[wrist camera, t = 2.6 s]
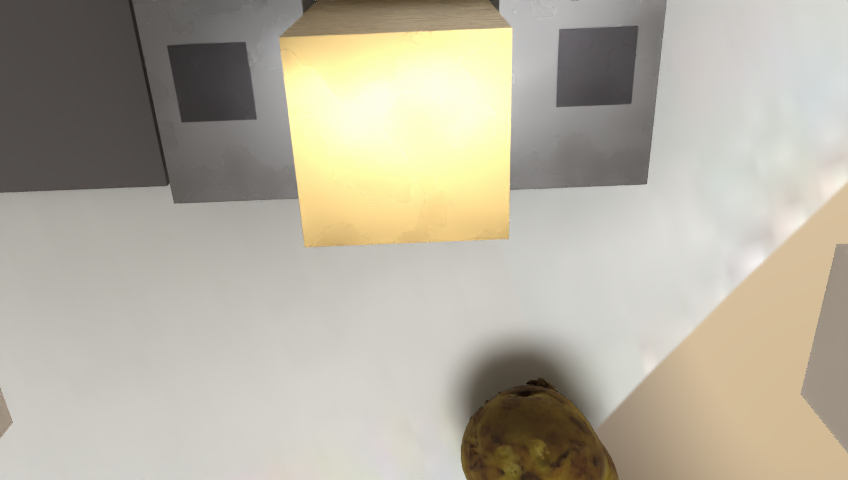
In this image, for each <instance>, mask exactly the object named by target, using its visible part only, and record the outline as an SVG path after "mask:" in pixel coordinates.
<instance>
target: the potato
mask: <svg viewBox="0 0 848 480" xmlns="http://www.w3.org/2000/svg"><path fill="white" fill-rule="evenodd" d="M526 384H528V385H526V386H520V387H514V388H513V389H509V390H506V391H504V392H499V394H498V395H497V396H496V397H494V398H493V399H492V400H490V401H488V400H486V402H485V405H484V406H483V407H481V408H480V409H479V410H478V411H477V412H476V413H475V414H474V415H473V416H472V417H471V419H470V421H469V423H468V425H467V427H466V430H465V432H464V435H463V439H462V445H461V463H462V468H463V471H464V474H465V476H466V479H467V480H618V475H617V472H616V469H615V465H614V463H613V461H612V458H611V457H610V455H609V453H608V451H607V450H606V448H605V447H604V445H603V444H602V443H601V441H600V440H599V438H598V436H597V435H596V433H595V432H594V430H593V428H592V427H591V425H590V424H589V422H588V421H587V419H586V418H585V417H584V415H583V414H582V413H581V412H580V410H579V409H578V408H577V407H576V406H575V405H574V404H573V403H572V402H571V401H570V400H568V399H567V398H565V397H564V396H562V395H561V394H559V393H557V392H558V391H557V390H555V389H554V388H555V387H554V386H553V385H551V384H550V383H549V382H547V381H546V380H545V379H544V378H543V379H542V378H539V379H538V380H530V381H528V382H527V383H526Z"/></svg>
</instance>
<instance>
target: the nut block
mask: <svg viewBox="0 0 848 480" xmlns="http://www.w3.org/2000/svg"><path fill="white" fill-rule="evenodd" d="M279 42H280V50H281V58H282V66H283V74H284V82H285V90H286V99H287V107H288V115H289V123H290V131H291V139H292V147H293V155H294V163H295V171H296V179H297V187H298V195H299V204H300V212H301V220H302V228H303V236H304V244H305V247H320V246H344V245H369V244H393V243H418V242H442V241H467V240H491V239H509V197H510V136H511V76H512V27H511V26H510V25H509V23H508V22H507V21H506V20H505V19H504V18H503V16H502V15H501V14H500V13H499V12H498V11H497V9H496V8H495V7H494V6H493V5H492V4H491V2H490V1H489V0H317V1H316V2H315V3H314V4H313V5H312V6H311V7H310V8H309V9H308V10H307V11H306V12H305V13H304V14H303V15H302V16H301V17H300V18H299V19H298V20H297V21H296V22H295V23H293V24H292V25H291V26H290V27H289V28H288V29H287V30H286V31H285V32H284V33H283V34H282V35H281V36H280V37H279Z"/></svg>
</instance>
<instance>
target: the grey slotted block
mask: <svg viewBox="0 0 848 480" xmlns="http://www.w3.org/2000/svg"><path fill="white" fill-rule="evenodd" d="M666 1H667V0H491V4H492V5H493V6H494V7H495V8H496V9H497V11H498V12H499V13H500V14H501V15H502V16H503V18H504V19H505V20H506V21H507V22H508V23H509V25H510V26H511V27H512V76H511V136H510V190H518V189H543V188H568V187H592V186H617V185H641V184H647V178H648V169H649V159H650V150H651V141H652V131H653V122H654V113H655V103H656V94H657V85H658V75H659V66H660V57H661V47H662V38H663V29H664V20H665V10H666ZM132 2H133V7H134V12H135V17H136V22H137V26H138V31H139V36H140V41H141V46H142V50H143V55H144V60H145V65H146V70H147V75H148V79H149V84H150V89H151V94H152V99H153V103H154V108H155V113H156V118H157V123H158V128H159V132H160V137H161V142H162V147H163V152H164V156H165V161H166V166H167V171H168V176H169V180H170V185H171V190H172V195H173V200H174V203H199V202H224V201H248V200H273V199H297V198H299V195H298V187H297V179H296V171H295V163H294V155H293V147H292V139H291V131H290V123H289V115H288V107H287V99H286V90H285V82H284V74H283V66H282V58H281V50H280V42H279V37H280V36H281V35H282V34H283V33H284V32H285V31H286V30H287V29H288V28H289V27H290V26H291V25H292V24H293V23H295V22H296V21H297V20H298V19H299V18H300V17H301V16H302V15H303V14H304V13H305V12H306V11H307V10H308V9H309V8H310V7H311V6H312V5H313V0H132Z"/></svg>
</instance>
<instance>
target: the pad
mask: <svg viewBox="0 0 848 480" xmlns="http://www.w3.org/2000/svg"><path fill="white" fill-rule="evenodd" d="M169 183H170V180H169V176H168V171H167V166H166V161H165V156H164V152H163V147H162V142H161V137H160V132H159V128H158V123H157V118H156V113H155V108H154V103H153V99H152V94H151V89H150V84H149V79H148V75H147V70H146V65H145V60H144V55H143V50H142V46H141V41H140V36H139V31H138V26H137V22H136V17H135V12H134V7H133V2H132V0H0V193H3V192H27V191H52V190H76V189H101V188H125V187H150V186H167V185H168V184H169Z"/></svg>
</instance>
